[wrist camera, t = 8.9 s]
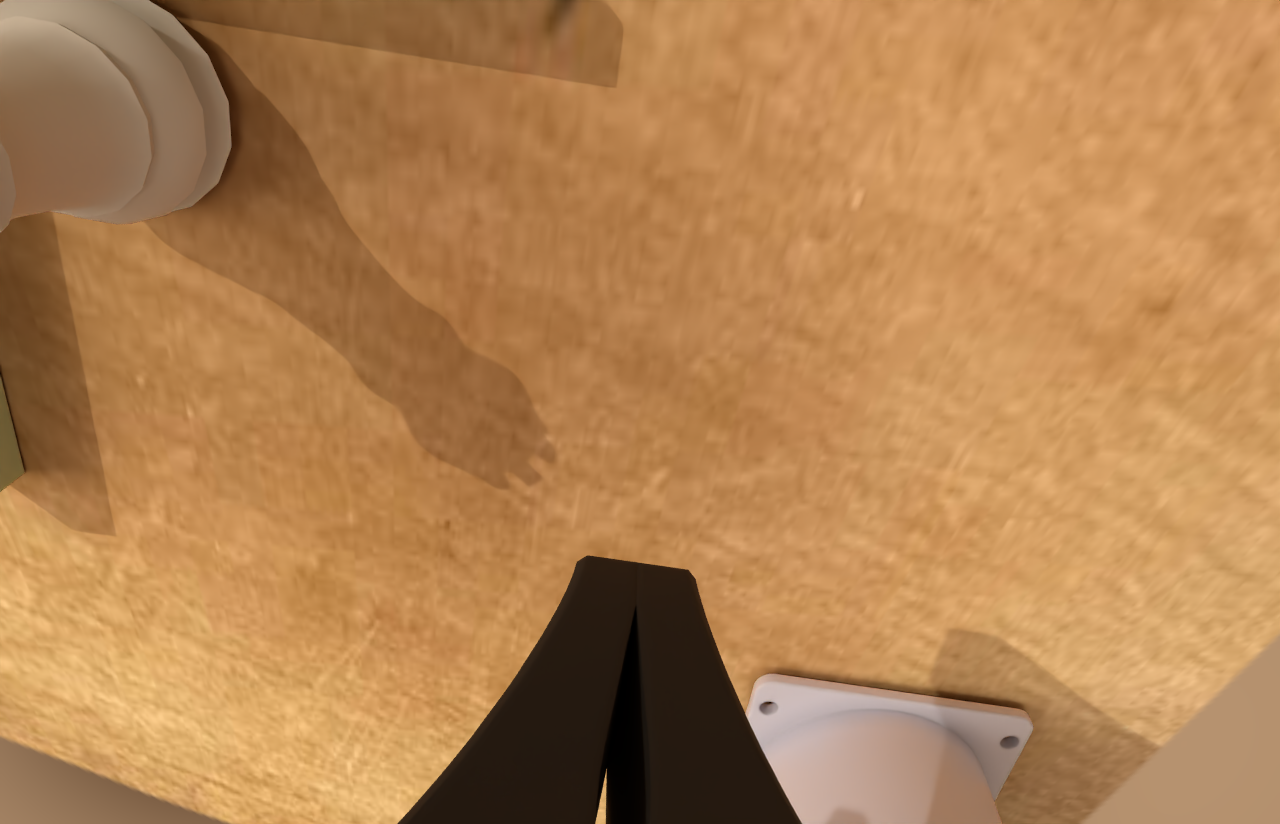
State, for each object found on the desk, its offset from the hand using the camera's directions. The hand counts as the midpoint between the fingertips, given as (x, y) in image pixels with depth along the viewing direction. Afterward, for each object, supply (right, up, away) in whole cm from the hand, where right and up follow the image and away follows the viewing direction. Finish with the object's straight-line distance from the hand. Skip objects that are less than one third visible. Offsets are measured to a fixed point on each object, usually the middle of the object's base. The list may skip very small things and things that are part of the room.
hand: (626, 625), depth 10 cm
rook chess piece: (-10, +9, +7) cm, 15 cm away
